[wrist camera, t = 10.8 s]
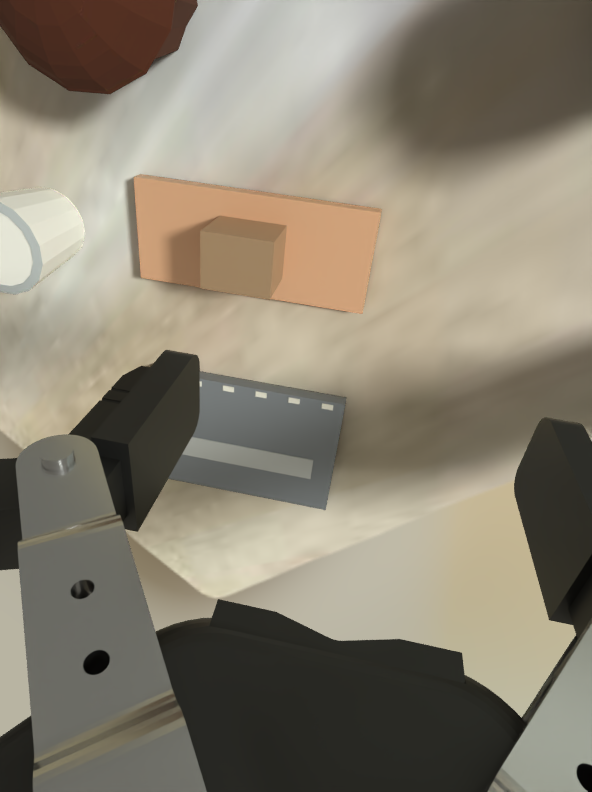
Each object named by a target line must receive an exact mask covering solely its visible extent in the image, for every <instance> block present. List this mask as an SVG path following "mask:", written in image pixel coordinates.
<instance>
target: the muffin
mask: <svg viewBox="0 0 592 792" xmlns="http://www.w3.org/2000/svg"><path fill="white" fill-rule="evenodd" d="M197 6H198V4H197V0H0V26H1V27H2V29H3V30H4V32H5V33H6V34H7V36H8V37H9V38H10V40H11V41H12V42H13V44H14V45H15V47H16V48H17V49H18V51H19V52H20V53H21V55H22V56H23V57H24V59H25V60H26V61H27V63H28V64H29V65H30V66H32V67H33V68H35V69H37V70H38V71H40V72H41V73H43V74H44V75H46V76H47V77H49V78H50V79H52V80H53V81H55V82H56V83H58V84H60V85H61V86H63V87H64V88H66V89H67V90H69V91H79V92H91V93H103V94H111V93H113V92H115V91H116V90H118V89H120V88H122V87H123V86H125V85H127V84H129V83H130V82H132V81H134V80H136V79H138V78H139V77H141V76H143V75H145V74H146V73H147V71H148V69H149V68H150V66H151V64H152V62H153V61H154V59H157V58H159V57H161V56H164V55H166V54H169V53H171V52H174V51H176V50H178V49H179V46H180V43H181V40H182V37H183V34H184V31H185V28H186V26H187V24H188V22H189V21H190V19H191V17H192V15H193V13H194V12H195V10H196V8H197Z"/></svg>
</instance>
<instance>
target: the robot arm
mask: <svg viewBox="0 0 592 792" xmlns="http://www.w3.org/2000/svg"><path fill="white" fill-rule="evenodd" d="M199 413H200V365H199V358H198V356H197V355H193V354H188V353H182V352H176V351H170V350H165V351H164V352H163V353H162V354H161V355H160V357H159V358H158V359H157V360H156V361H155V362H154V364H153V365H152V366H151V367H144V366H140V367H138V368H136V369H134V370H132V371H130V372H129V373H127V374H125V375H123V376H122V377H121V378H120V379H119V380H118V381H117V382H116V383H115V385H114V386H113V387H112V389H111V390H109V391H108V392H107V393H106V394H105V395H104V396H103V398H102V401H99V402H98V403H97V404H96V405H95V406H94V407H93V408H92V409H91V411H90V412H89V413H88V414H87V415H86V416H85V417H84V418H83V419H82V420H81V421H80V423H79V424H78V425H77V426H76V427H75V428H74V429H73V430H72V431H71V432H70V433H69V434H68V435H56V436H51V437H47V438H44V439H41V440H39V441H37V442H35V443H33V444H31V445H30V446H28V447H27V448H26V449H24V450H23V451H22V452H21V453H20V455H19V457H18V458H13V459H0V570H8V569H19V570H20V571H19V572H20V584H21V597H22V609H23V620H24V633H25V645H26V657H27V668H28V682H29V693H30V706H31V716H30V717H28V718H27V719H25V720H24V721H23V722H21V723H20V724H18V725H17V726H15V727H14V728H13V729H11V730H10V731H8V732H7V733H6V734H4V735H3V736H1V737H0V792H592V441H591V440H590V438H589V436H588V434H587V432H586V430H585V428H584V427H583V425H582V424H580V423H575V422H569V421H563V420H557V419H552V418H543V419H542V420H541V421H540V422H539V424H538V426H537V428H536V430H535V432H534V434H533V436H532V439H531V441H530V443H529V445H528V447H527V450H526V452H525V454H524V456H523V458H522V461H521V463H520V465H519V467H518V470H517V473H516V477H515V483H514V492H515V498H516V501H517V505H518V509H519V512H520V516H521V519H522V523H523V527H524V530H525V534H526V537H527V541H528V544H529V548H530V552H531V556H532V559H533V563H534V566H535V570H536V574H537V577H538V581H539V584H540V588H541V592H542V595H543V599H544V603H545V606H546V610H547V614H548V617H549V620H551V621H556V622H561V623H566V624H570V625H574V629H575V631H576V636H575V637H574V639H573V640H572V642H571V643H570V644H569V646H568V647H567V649H566V651H565V652H564V654H563V655H562V657H561V658H560V660H559V661H558V663H557V664H556V666H555V667H554V669H553V671H552V672H551V674H550V675H549V677H548V678H547V680H546V681H545V683H544V684H543V686H542V688H541V689H540V691H539V692H538V694H537V695H536V697H535V698H534V700H533V701H532V703H531V704H530V706H529V708H528V709H527V711H526V712H525V714H524V715H523V716H522V718H521V717H520V716H519V715H518V714H517V713H516V712H515V711H514V710H513V709H512V708H511V707H510V706H509V705H508V704H507V703H505V702H504V701H503V700H502V699H501V698H500V697H498V696H497V695H496V694H494V693H493V692H492V691H490V690H489V689H488V688H486V687H485V686H483V685H481V684H480V683H478V682H477V681H475V680H473V679H472V678H470V677H467V676H466V675H464V667H463V659H462V653H460V652H456V651H451V650H447V649H442V648H437V647H433V646H429V645H424V644H419V643H415V642H410V641H406V640H401V639H392V640H360V641H359V640H358V641H337V640H333V639H331V638H328V637H326V636H324V635H322V634H320V633H318V632H316V631H314V630H312V629H310V628H308V627H306V626H304V625H302V624H300V623H298V622H296V621H294V620H291V619H289V618H287V617H285V616H283V615H281V614H279V613H277V612H273V611H269V610H265V609H260V608H256V607H251V606H247V605H242V604H237V603H232V602H228V601H223V600H219V599H218V601H217V604H216V608H215V610H214V613H213V616H212V618H200V619H194V620H188V621H184V622H180V623H176V624H173V625H170V626H168V627H166V628H163V629H160V630H159V631H156V632H155V629H154V625H153V622H152V619H151V616H150V612H149V609H148V605H147V602H146V599H145V595H144V592H143V589H142V585H141V582H140V579H139V575H138V572H137V569H136V565H135V562H134V559H133V555H132V552H131V548H130V545H129V542H128V538H127V535H126V532H125V529H127V530H132V531H137V532H138V530H139V528H140V527H141V525H142V523H143V521H144V520H145V518H146V516H147V514H148V513H149V511H150V509H151V507H152V506H153V504H154V502H155V500H156V499H157V497H158V495H159V494H160V492H161V490H162V488H163V487H164V485H165V483H166V481H167V480H168V478H169V476H170V474H171V473H172V471H173V469H174V467H175V466H176V464H177V462H178V460H179V459H180V457H181V455H182V453H183V452H184V450H185V448H186V446H187V445H188V443H189V441H190V440H191V438H192V436H193V434H194V432H195V430H196V427H197V424H198V419H199Z"/></svg>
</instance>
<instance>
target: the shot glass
mask: <svg viewBox="0 0 592 792" xmlns="http://www.w3.org/2000/svg"><path fill="white" fill-rule="evenodd" d="M84 239H85V230H84V222H83V220H82V218H81V216H80V214H79V211H78V209H77V208H76V207H75V206H74V204H73V203H72V202H71V201H70V200H69V199H68V198H67V197H66V196H64V195H63V194H61V193H59V192H58V191H56V190H54V189H50V188H43V187H37V188H29V189H22V190H15V191H8V192H1V193H0V292H3V293H9V294H19V293H22V292H26V291H29V290H31V289H32V288H33V287H35V286H36V285H37V284H38V283H40V282H41V281H42V280H43V279H45V278H46V277H47V276H49V275H50V274H51V273H52V272H54V271H55V270H56V269H57V268H59V267H60V266H61V265H63V264H64V263H65V262H66V261H68V260H69V259H70V258H71V257H73V256H74V255H75V254H76V253H77V252H78V251H79V250H80V249H81V248H82V246H83V242H84Z"/></svg>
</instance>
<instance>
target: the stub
mask: <svg viewBox="0 0 592 792" xmlns="http://www.w3.org/2000/svg"><path fill="white" fill-rule="evenodd" d="M134 189H135V203H136V217H137V231H138V244H139V258H140V272H141V278H146V279H152V280H158V281H164V282H170V283H176V284H183V285H189V286H195V287H201V289H207V290H213V291H219V292H225V293H232V294H238V295H244V296H250V297H256V298H262V299H268V300H270V299H274V300H280V301H286V302H293V303H299V304H305V305H311V306H317V307H323V308H329V309H335V310H342V311H348V312H354V313H360V314H362V313H363V308H364V302H365V297H366V292H367V286H368V281H369V276H370V270H371V265H372V260H373V254H374V249H375V244H376V238H377V233H378V228H379V222H380V217H381V211H382V209H378V208H371V207H364V206H357V205H350V204H343V203H336V202H329V201H323V200H316V199H309V198H302V197H295V196H288V195H281V194H274V193H267V192H260V191H253V190H246V189H239V188H232V187H226V186H219V185H212V184H205V183H198V182H191V181H184V180H177V179H170V178H163V177H156V176H149V175H142V174H140V175H137V176H135V177H134Z"/></svg>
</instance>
